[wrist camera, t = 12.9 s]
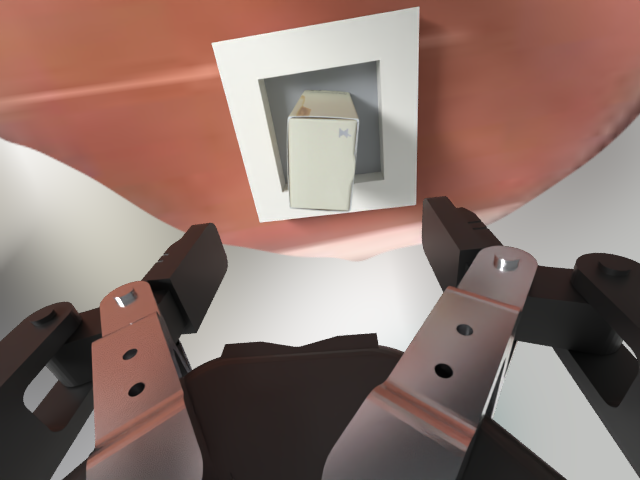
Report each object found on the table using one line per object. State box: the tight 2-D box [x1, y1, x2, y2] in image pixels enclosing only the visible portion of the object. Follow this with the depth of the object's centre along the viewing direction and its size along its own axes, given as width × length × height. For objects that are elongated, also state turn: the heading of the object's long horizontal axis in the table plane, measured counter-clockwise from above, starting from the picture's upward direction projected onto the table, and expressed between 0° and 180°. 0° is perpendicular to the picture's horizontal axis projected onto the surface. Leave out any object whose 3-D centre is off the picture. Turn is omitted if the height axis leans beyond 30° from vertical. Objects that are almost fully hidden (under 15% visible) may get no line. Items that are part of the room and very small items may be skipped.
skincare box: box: [287, 90, 359, 213], centre depth 24 cm, size 6×4×12 cm
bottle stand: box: [212, 7, 419, 222], centre depth 29 cm, size 16×16×4 cm
